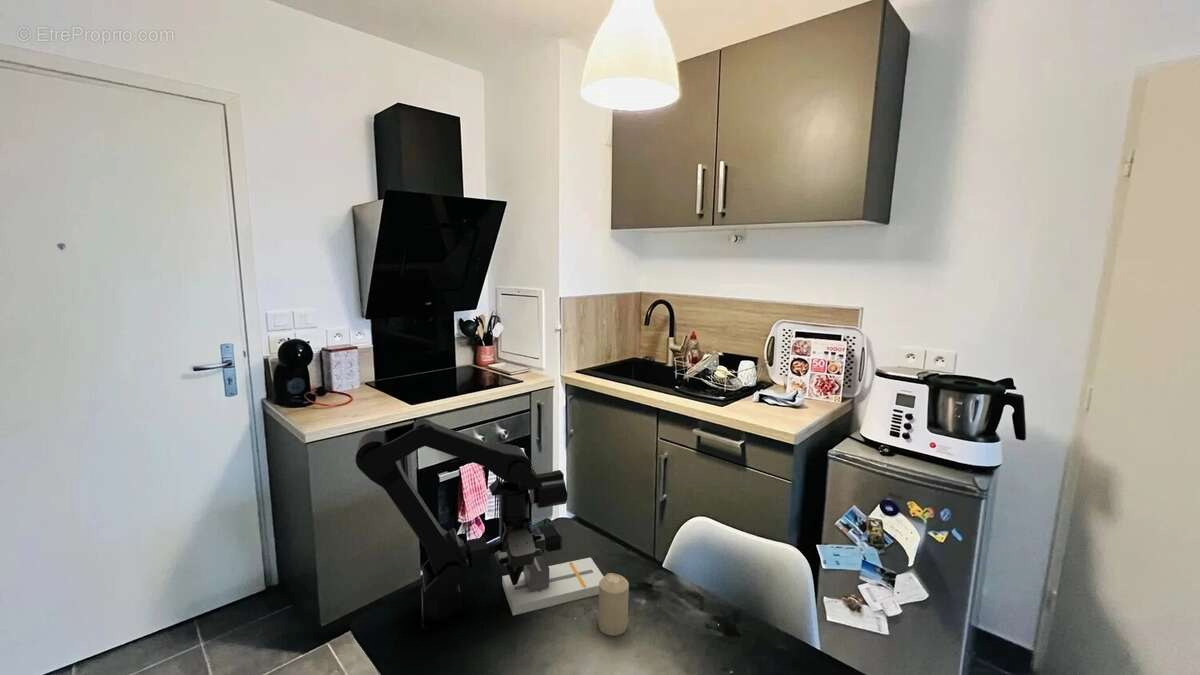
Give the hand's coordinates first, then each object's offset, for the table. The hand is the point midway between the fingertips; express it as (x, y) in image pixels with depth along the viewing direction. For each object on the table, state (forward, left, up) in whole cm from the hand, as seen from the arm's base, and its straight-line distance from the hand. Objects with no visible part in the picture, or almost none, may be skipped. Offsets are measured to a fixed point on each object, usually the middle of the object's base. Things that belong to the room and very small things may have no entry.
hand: (514, 583), depth 99 cm
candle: (+15, -14, -3) cm, 21 cm away
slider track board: (+9, 0, -3) cm, 9 cm away
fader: (+5, 0, -1) cm, 5 cm away
